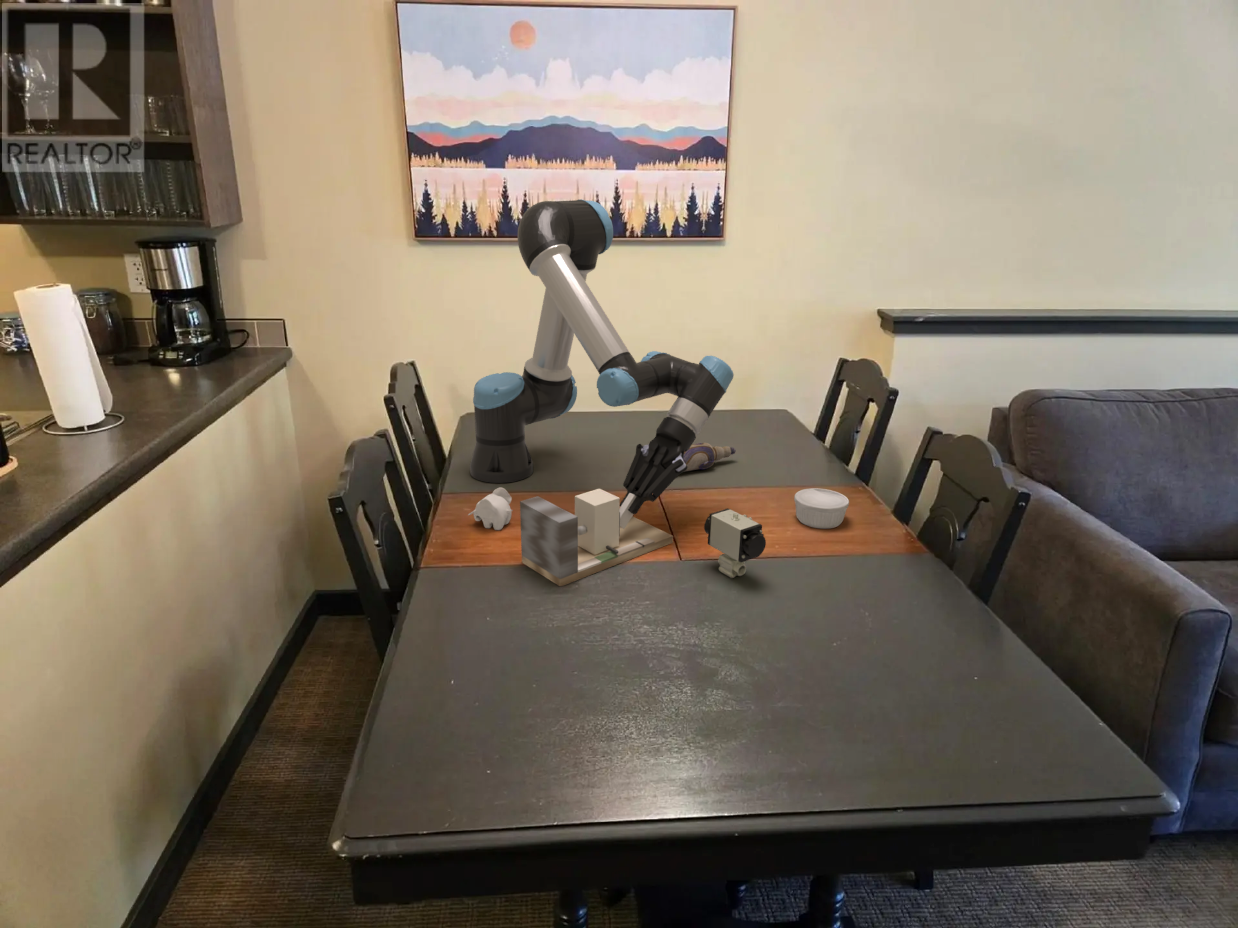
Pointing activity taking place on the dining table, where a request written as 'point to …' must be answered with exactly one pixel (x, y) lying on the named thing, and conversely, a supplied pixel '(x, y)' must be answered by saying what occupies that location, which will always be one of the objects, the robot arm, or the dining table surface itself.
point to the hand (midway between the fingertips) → (617, 524)
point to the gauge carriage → (598, 521)
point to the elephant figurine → (494, 509)
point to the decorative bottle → (705, 455)
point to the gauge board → (624, 540)
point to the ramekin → (820, 507)
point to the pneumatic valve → (734, 540)
